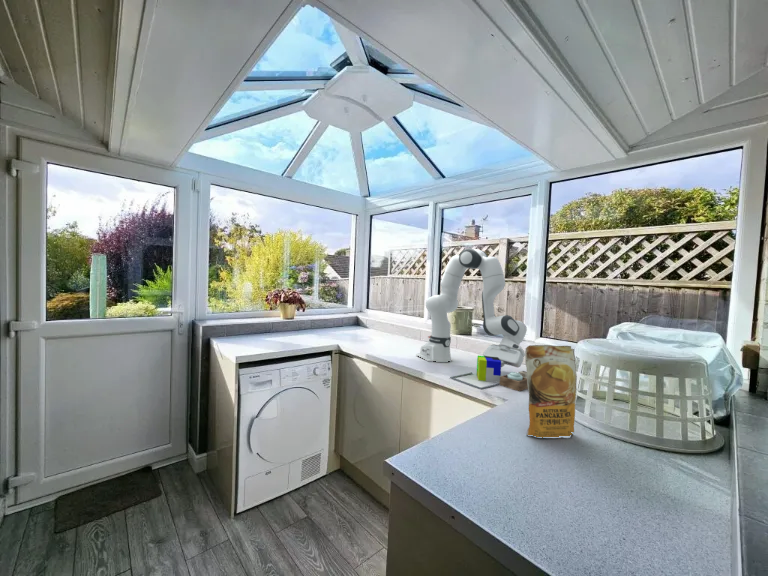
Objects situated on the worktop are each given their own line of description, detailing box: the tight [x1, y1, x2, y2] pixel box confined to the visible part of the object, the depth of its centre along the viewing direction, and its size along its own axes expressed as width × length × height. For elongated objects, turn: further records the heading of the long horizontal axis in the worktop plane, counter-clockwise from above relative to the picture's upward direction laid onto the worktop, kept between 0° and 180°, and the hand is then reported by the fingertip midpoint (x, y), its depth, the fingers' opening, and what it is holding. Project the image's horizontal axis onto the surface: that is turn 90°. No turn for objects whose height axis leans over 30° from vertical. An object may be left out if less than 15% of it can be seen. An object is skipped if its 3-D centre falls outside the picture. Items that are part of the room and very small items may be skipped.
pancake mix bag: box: [524, 344, 578, 438], centre depth 101 cm, size 7×19×28 cm, turn 98°
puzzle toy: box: [476, 355, 502, 383], centre depth 159 cm, size 10×10×10 cm
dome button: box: [507, 371, 523, 381], centre depth 148 cm, size 6×6×3 cm
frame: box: [449, 372, 501, 391], centre depth 154 cm, size 19×17×1 cm
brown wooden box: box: [498, 370, 528, 392], centre depth 150 cm, size 10×16×6 cm, turn 126°
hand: (495, 368), depth 162 cm, fingers closed, pressing on puzzle toy
